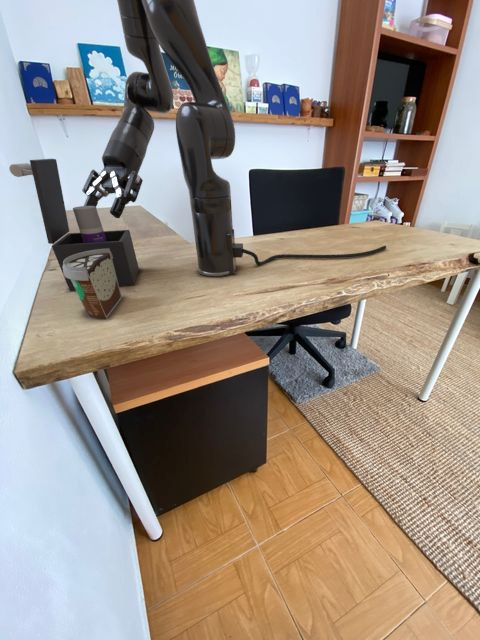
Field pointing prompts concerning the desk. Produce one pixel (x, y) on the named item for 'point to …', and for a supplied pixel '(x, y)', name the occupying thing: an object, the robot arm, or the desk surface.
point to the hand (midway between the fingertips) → (100, 214)
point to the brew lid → (47, 195)
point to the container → (89, 224)
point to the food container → (94, 281)
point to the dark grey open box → (116, 243)
